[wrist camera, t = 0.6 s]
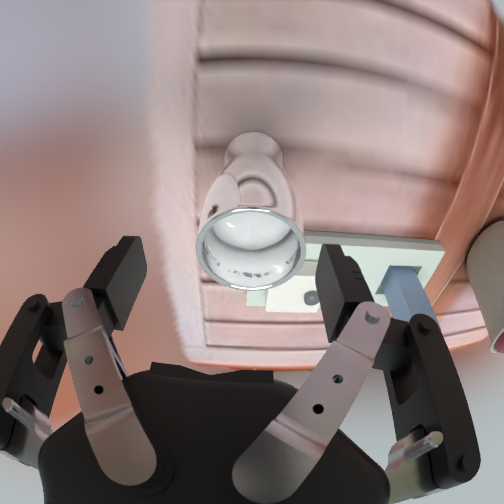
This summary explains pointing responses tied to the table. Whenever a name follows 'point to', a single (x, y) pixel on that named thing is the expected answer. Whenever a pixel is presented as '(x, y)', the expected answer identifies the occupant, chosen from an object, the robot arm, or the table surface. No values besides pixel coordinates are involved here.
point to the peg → (405, 293)
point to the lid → (295, 292)
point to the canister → (489, 280)
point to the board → (372, 258)
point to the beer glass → (251, 218)
